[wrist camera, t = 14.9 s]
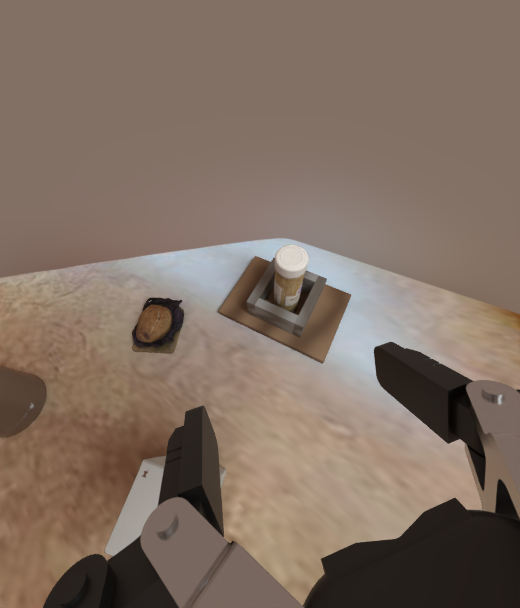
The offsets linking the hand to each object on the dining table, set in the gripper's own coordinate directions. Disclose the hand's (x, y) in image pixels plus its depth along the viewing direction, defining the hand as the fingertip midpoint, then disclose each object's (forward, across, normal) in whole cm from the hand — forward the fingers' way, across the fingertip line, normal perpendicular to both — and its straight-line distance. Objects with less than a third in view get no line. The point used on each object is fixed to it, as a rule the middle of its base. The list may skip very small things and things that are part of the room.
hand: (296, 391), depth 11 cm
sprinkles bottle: (+33, -9, +8) cm, 35 cm away
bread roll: (+37, +14, +6) cm, 40 cm away
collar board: (+34, -9, +8) cm, 36 cm away
